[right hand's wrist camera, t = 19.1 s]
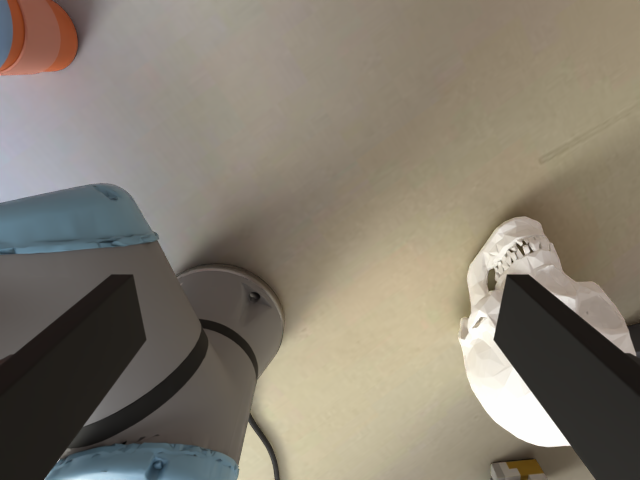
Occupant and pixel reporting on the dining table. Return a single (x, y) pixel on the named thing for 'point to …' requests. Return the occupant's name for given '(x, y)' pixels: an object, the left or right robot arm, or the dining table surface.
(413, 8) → the dining table surface
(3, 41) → the cup with straw
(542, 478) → the toy
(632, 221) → the dining table surface
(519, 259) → the skull
